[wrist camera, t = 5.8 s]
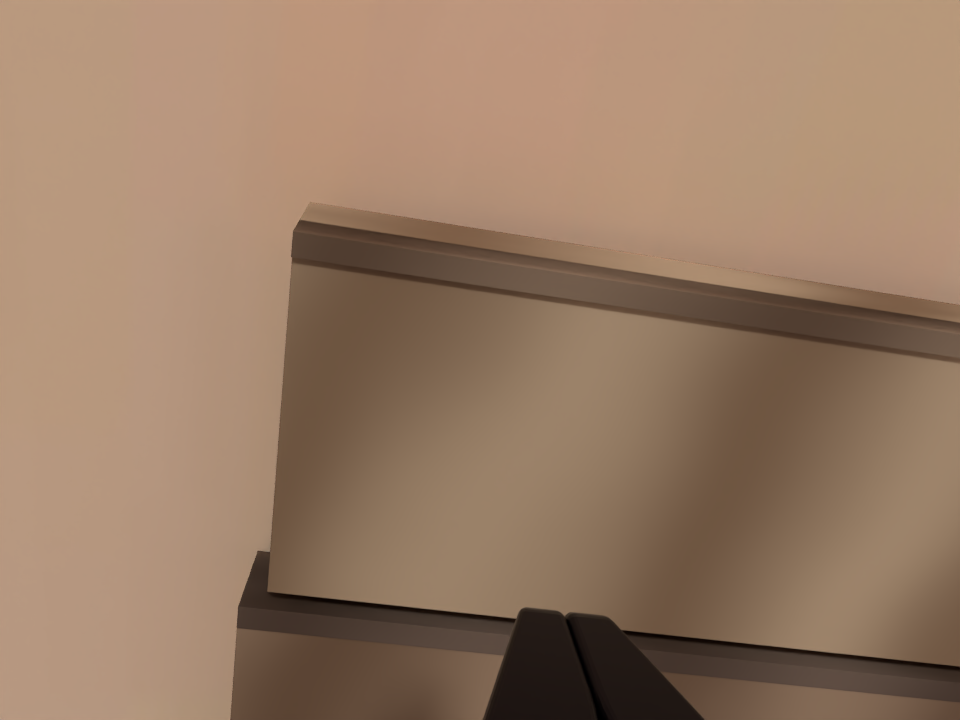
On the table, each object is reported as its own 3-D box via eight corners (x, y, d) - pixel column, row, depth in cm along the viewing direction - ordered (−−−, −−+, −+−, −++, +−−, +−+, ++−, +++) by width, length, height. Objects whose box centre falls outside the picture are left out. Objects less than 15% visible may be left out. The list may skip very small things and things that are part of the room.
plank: (1230, 348, 15) (1313, 388, 14) (1051, 627, 18) (1103, 685, 17) (310, 202, 13) (293, 230, 12) (282, 539, 16) (266, 595, 15)
